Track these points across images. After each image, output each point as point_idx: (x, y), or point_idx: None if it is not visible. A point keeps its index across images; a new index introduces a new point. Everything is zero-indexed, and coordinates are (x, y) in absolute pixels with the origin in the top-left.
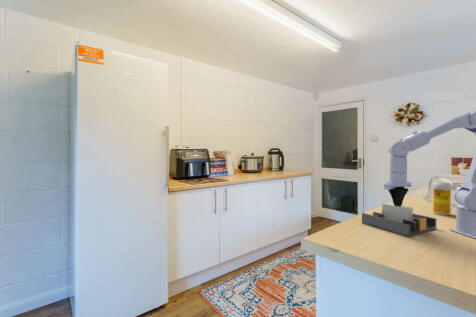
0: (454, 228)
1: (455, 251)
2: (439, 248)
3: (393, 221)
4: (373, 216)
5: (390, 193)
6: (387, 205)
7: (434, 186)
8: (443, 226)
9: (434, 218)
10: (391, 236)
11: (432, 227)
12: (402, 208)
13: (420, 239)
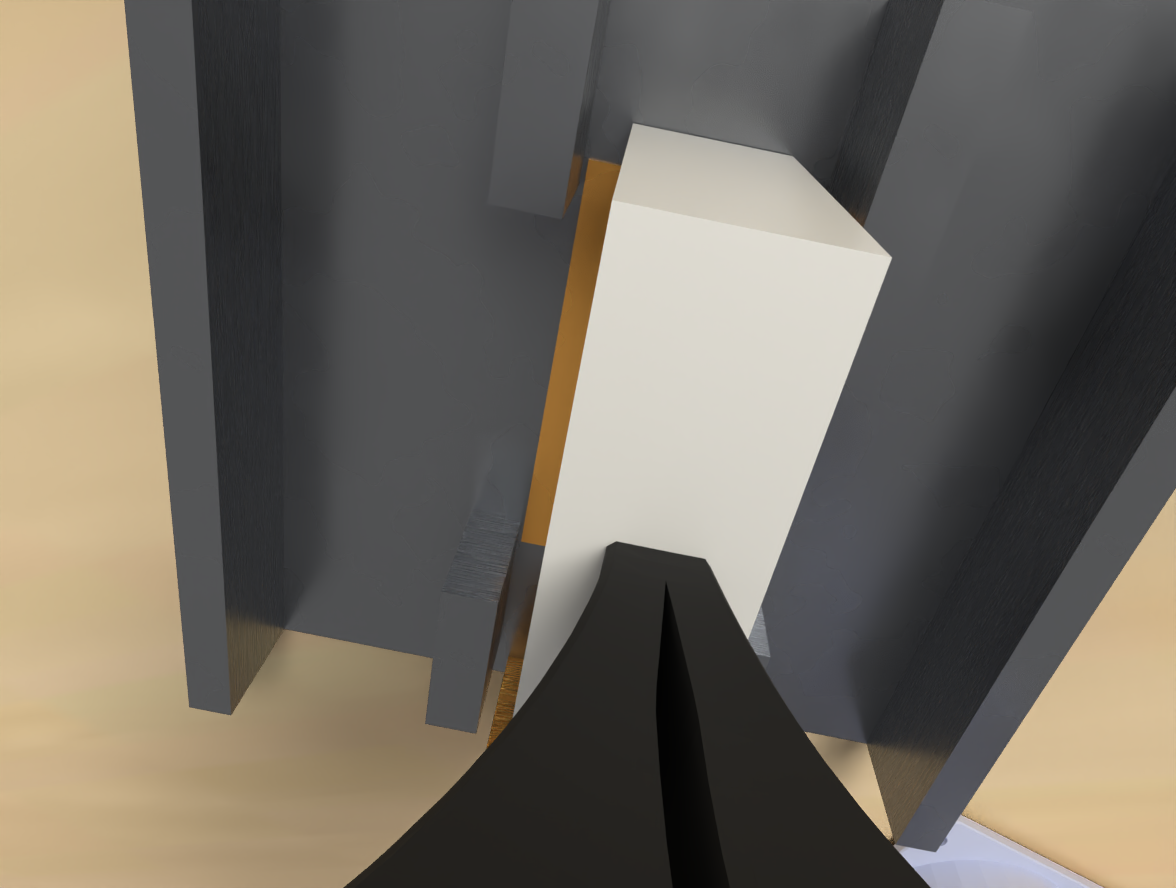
0: (993, 850)
1: (270, 871)
2: (221, 805)
3: (180, 533)
4: (141, 137)
5: (431, 818)
6: (581, 372)
7: None
8: (1098, 753)
9: (921, 837)
10: (90, 477)
11: (805, 730)
12: (517, 703)
13: (308, 684)
